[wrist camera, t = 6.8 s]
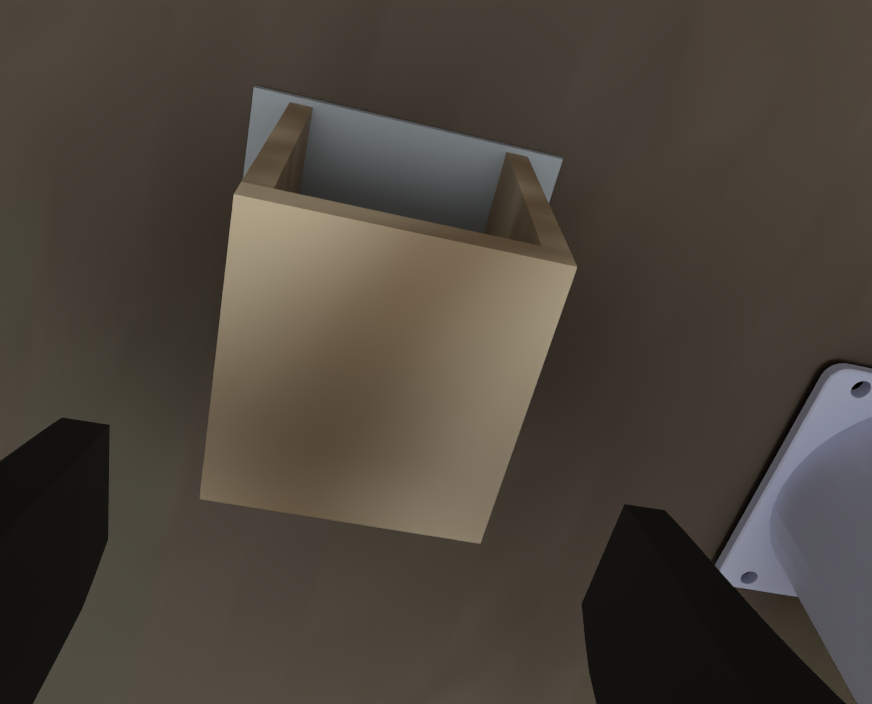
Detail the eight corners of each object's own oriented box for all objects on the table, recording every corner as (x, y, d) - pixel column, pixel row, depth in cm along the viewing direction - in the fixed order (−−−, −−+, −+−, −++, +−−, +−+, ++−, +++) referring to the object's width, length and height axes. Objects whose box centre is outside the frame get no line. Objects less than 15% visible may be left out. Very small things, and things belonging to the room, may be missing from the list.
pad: (561, 156, 18) (563, 158, 18) (482, 404, 21) (482, 409, 21) (255, 85, 17) (253, 87, 17) (222, 357, 20) (221, 360, 20)
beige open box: (527, 156, 18) (577, 266, 12) (462, 377, 21) (480, 543, 15) (290, 101, 17) (234, 194, 12) (256, 338, 20) (199, 499, 15)
